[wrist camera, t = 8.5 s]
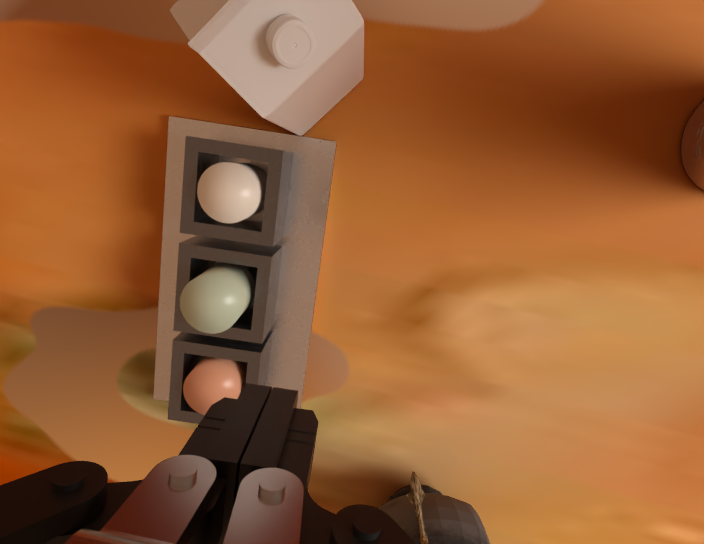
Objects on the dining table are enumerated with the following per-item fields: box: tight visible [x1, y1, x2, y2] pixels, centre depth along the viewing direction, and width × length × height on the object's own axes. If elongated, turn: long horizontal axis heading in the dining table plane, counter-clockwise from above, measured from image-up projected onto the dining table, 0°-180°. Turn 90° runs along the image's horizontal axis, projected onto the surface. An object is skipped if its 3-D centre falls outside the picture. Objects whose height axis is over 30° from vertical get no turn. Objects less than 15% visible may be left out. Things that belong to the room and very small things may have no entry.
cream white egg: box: [197, 162, 267, 223], centre depth 36 cm, size 4×4×5 cm
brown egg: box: [183, 356, 248, 415], centre depth 39 cm, size 4×4×5 cm
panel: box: [153, 116, 337, 424], centre depth 39 cm, size 14×26×6 cm, turn 172°
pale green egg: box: [180, 262, 256, 334], centre depth 36 cm, size 4×4×5 cm
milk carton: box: [169, 0, 364, 136], centre depth 29 cm, size 7×7×19 cm
